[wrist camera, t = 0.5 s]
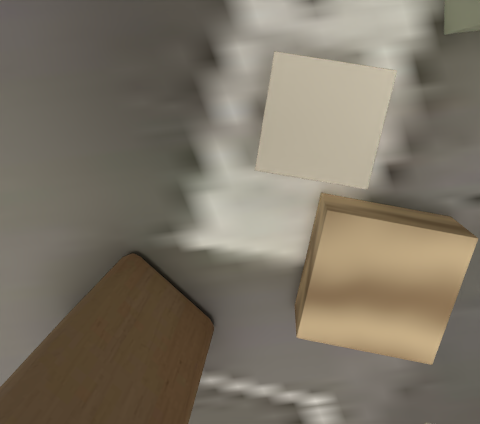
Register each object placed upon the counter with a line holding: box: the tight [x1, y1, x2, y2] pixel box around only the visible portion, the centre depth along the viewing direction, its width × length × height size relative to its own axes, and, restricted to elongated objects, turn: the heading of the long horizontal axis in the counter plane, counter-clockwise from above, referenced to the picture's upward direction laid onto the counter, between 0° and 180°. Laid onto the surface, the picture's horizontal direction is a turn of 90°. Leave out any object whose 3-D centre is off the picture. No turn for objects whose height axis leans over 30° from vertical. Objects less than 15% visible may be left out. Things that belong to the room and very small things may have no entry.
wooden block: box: [0, 253, 214, 424], centre depth 28 cm, size 10×10×20 cm
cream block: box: [255, 51, 397, 189], centre depth 26 cm, size 6×6×10 cm
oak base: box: [295, 193, 478, 365], centre depth 32 cm, size 10×10×5 cm
